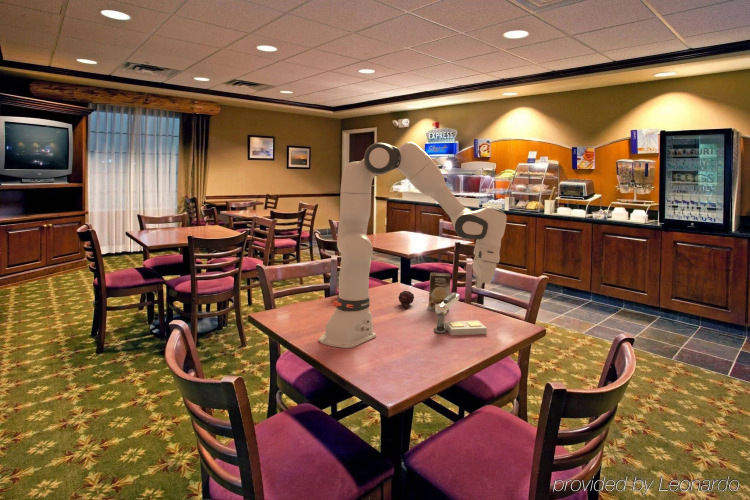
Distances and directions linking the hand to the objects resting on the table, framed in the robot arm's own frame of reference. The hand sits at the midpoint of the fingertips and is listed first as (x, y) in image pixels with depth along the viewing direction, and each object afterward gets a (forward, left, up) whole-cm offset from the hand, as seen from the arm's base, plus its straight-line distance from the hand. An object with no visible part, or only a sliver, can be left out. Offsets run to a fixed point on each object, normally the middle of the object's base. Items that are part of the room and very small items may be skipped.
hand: (477, 287), depth 164 cm
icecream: (+24, +39, -19) cm, 50 cm away
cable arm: (+7, +13, -11) cm, 19 cm away
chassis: (+4, +5, -19) cm, 20 cm away
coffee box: (+26, +23, -19) cm, 40 cm away
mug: (+25, +71, -19) cm, 78 cm away
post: (-2, +13, -19) cm, 23 cm away
